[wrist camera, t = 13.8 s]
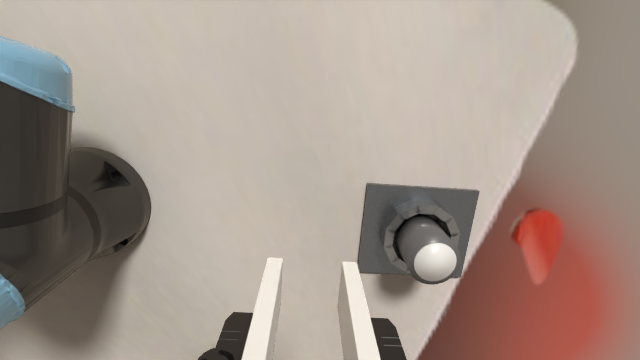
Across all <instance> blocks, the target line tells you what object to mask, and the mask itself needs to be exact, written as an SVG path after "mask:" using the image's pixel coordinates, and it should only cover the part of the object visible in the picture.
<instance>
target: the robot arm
mask: <svg viewBox="0 0 640 360" xmlns="http://www.w3.org/2000/svg"><path fill="white" fill-rule="evenodd" d="M73 112H75V107H74V106H73V105H72V73H71V70H70V68H69V67H68V65H67V64H66V63H65V62H64V61H63V60H62V59H61V58H59V57H58V56H56V55H54V54H52V53H49V52H47V51H44V50H41V49H38V48H35V47H33V46H30V45H26V44H23V43H20V42H17V41H14V40H11V39H8V38H5V37H1V36H0V328H2V327H3V326H4V325H6V324H7V323H9V322H11V321H14V320H16V319H18V318H19V317H20V316H21V315H22V314H23V312H25V311H26V310H27V309H28V308H30V307H31V306H32V305H33V304H35V303H36V302H37V301H38V300H39V299H41V298H42V297H43V296H44V295H46V294H47V293H48V292H49V291H51V290H52V289H53V288H54V287H56V286H57V285H58V284H59V283H61V282H62V281H63V280H64V279H65V278H67V277H68V276H69V275H70V274H72V273H73V272H74V271H75V270H77V269H78V268H79V267H80V266H82V265H83V264H84V263H85V262H87V261H89V260H92V259H96V258H99V257H102V256H105V255H109V254H112V253H115V252H117V251H120V250H121V249H123V248H125V247H126V246H128V245H129V244H130V243H132V242H133V241H134V240H135V239H136V238H137V237H138V236H139V235H140V234H141V233H142V232H143V231H144V229H145V228H146V226H147V223H148V221H149V217H150V212H151V203H150V197H149V193H148V190H147V188H146V185H145V183H144V181H143V180H142V178H141V177H140V175H139V174H138V173H137V172H136V170H135V169H134V168H133V167H132V166H131V165H129V164H128V163H127V162H126V161H124V160H123V159H121V158H120V157H118V156H116V155H114V154H112V153H110V152H107V151H104V150H100V149H96V148H76V149H71V132H72V115H73ZM70 149H71V150H70ZM282 263H283V258H268V259H267V263H266V267H265V271H264V275H263V279H262V282H261V286H260V290H259V294H258V298H257V302H256V306H255V309H254V313H241V312H233V313H232V314H231V315H230V316H229V317H228V318H227V319H226V320H225V323H224V326H223V329H222V332H221V334H220V337H219V340H218V342H217V345H216V348H213V349H210V350H208V351H207V352H205V353H203V354H202V355H201V356H200V357H199V358H198V360H272V359H273V352H274V346H275V339H276V332H277V325H278V318H279V311H280V305H281V285H282ZM338 314H339V323H340V332H341V341H342V350H343V359H344V360H407V359H406V356H405V353H404V351H403V348H402V345H401V342H400V339H399V336H398V333H397V330H396V327H395V326H394V325H393V324H392V323H391V321H390V320H389V319H385V318H370V314H369V310H368V306H367V302H366V298H365V294H364V290H363V286H362V282H361V278H360V273H359V269H358V265H357V262H342V269H341V279H340V288H339V298H338Z"/></svg>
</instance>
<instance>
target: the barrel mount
mask: <svg viewBox="0 0 640 360" xmlns="http://www.w3.org/2000/svg"><path fill="white" fill-rule="evenodd" d="M478 195H479V191H478V190H469V189H454V188H438V187H422V186H406V185H390V184H374V183H367V189H366V198H365V206H364V215H363V224H362V232H361V241H360V249H359V258H358V269H359V272H369V273H388V274H407V275H412V274H411V273H410V271H409V269H408V267H407V265H406V263H405V261H404V259H403V257H402V255H401V253H400V251H399V249H398V247H397V245H396V243H395V241H394V232H395V231H396V230H397V228H398V227H399V226H400V225H401V223H402V222H403V221H404V220H405V219H408V218H410V217H412V216H414V215H417V214H427V215H429V216H430V217H431V218H432V219H433V220H434V221H435V222H436V223H437V224H438V225H439V227H440V228H441V229H442V230H443V231H444V232H445V233H446V235H447V236H448V237H449V238H450V239H451V240H452V241H453V243H454V244H455V245H456V246H457V247H458V249H459V251H460V255H461V262H460V266H459V268H458V270H457V272H456V273H455V274H454V275H453V276H452V277H461V274H462V269H463V264H464V260H465V255H466V251H467V246H468V241H469V237H470V232H471V228H472V223H473V218H474V214H475V209H476V205H477V200H478Z"/></svg>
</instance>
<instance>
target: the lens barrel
mask: <svg viewBox="0 0 640 360" xmlns="http://www.w3.org/2000/svg"><path fill="white" fill-rule="evenodd" d="M394 241H395V243H396V245H397V247H398V249H399V251H400V253H401V255H402V257H403V259H404V261H405V263H406V265H407V267H408V269H409V271H410V273H411V274H412V276H413V277H414V278H415V279H416V280H418V281H420V282H422V283H425V284H439V283H442V282H444V281H447V280H448V279H450V278H451V277H452V276H453V275H454V274H455V273H456V272H457V270H458V268H459V266H460V262H461V255H460V251H459V249H458V247H457V246H456V245H455V244H454V243H453V241H452V240H451V239H450V238H449V237H448V236H447V235H446V233H445V232H444V231H443V230H442V229H441V228H440V227H439V225H438V224H437V223H436V222H435V221H434V220H433V219H432V218H431V217H430V216H429V215H427V214H417V215H414V216H412V217H410V218H408V219H405V220H404V221H403V222H402V223H401V225H400V226H399V227H398V228H397V230H396V231H395V232H394Z"/></svg>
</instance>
